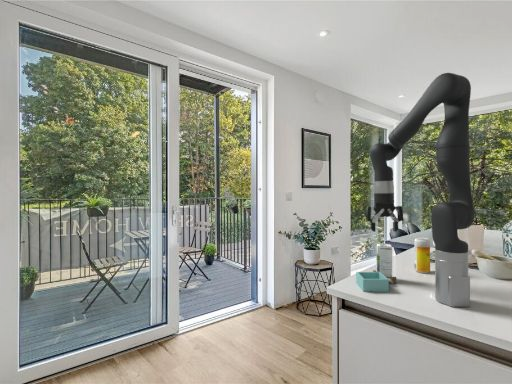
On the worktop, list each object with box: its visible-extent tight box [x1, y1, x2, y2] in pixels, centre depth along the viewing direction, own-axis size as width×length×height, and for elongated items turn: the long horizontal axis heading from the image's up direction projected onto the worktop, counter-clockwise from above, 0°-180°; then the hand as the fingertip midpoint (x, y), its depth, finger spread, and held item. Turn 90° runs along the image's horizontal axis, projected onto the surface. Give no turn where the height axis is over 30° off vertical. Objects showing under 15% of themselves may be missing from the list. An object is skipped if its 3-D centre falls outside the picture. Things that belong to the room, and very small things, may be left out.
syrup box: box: [375, 243, 393, 277], centre depth 120 cm, size 6×6×14 cm
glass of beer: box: [413, 236, 431, 275], centre depth 129 cm, size 6×6×15 cm
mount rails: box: [372, 269, 397, 284], centre depth 118 cm, size 12×6×2 cm, turn 177°
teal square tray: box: [355, 271, 390, 293], centre depth 111 cm, size 9×9×4 cm
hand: (384, 231), depth 120 cm, fingers open, 8 cm apart
